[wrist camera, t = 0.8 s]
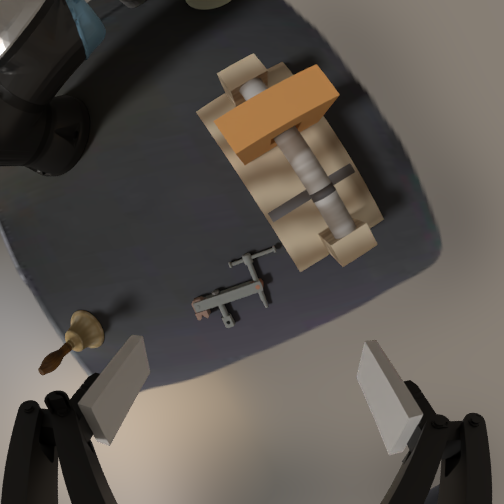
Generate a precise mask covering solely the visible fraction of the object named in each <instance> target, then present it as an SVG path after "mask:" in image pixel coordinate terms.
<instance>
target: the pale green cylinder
mask: <svg viewBox="0 0 504 504" xmlns="http://www.w3.org/2000/svg"><path fill="white" fill-rule="evenodd" d="M230 1H231V0H186V2H187V4H188V5H189V6H191V7H193V8H196V9H203V10H206V9H214V8H218V7H221V6H223V5H225V4H227V3H228V2H230Z"/></svg>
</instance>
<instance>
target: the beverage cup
mask: <svg viewBox="0 0 504 504" xmlns="http://www.w3.org/2000/svg"><path fill="white" fill-rule="evenodd" d="M120 1H121V2H122V3H123V4H125V5H126V6H127V7H129V8H135V7H137V6H140V5H141V4H143V3H144V2H145V1H146V0H120Z"/></svg>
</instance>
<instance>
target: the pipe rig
mask: <svg viewBox="0 0 504 504" xmlns="http://www.w3.org/2000/svg"><path fill="white" fill-rule="evenodd" d="M217 75H218V77H219V79H220V81H221V84H222V86H223V88H224V91H225V94H223V95H221V96H220V97H218V98H217V99H215V100H213V101H212V102H210V103H209V104H207V105H206V106H204V107H203V108H201V109H200V110H198V111H197V112H196V113H197V114H198V116H199V117H200V119H201V120H202V121H203V123H204V124H205V126H206V127H207V129H208V130H209V132H210V133H211V135H212V136H213V138H214V139H215V140H216V142H217V143H218V145H219V146H220V148H221V149H222V151H223V152H224V154H225V155H226V157H227V158H228V160H229V161H230V163H231V164H232V166H233V167H234V169H235V170H236V172H237V173H238V175H239V176H240V178H241V179H242V181H243V182H244V184H245V186H246V187H247V189H248V190H249V192H250V193H251V195H252V196H253V198H254V199H255V201H256V202H257V204H258V206H259V207H260V209H261V210H262V212H263V213H264V215H265V216H266V218H267V220H268V221H269V223H270V224H271V226H272V227H273V229H274V231H275V232H276V234H277V235H278V237H279V239H280V240H281V242H282V243H283V245H284V247H285V248H286V250H287V251H288V253H289V255H290V256H291V258H292V259H293V261H294V263H295V264H296V266H297V268H298V269H299V271H300V272H301V271H303V270H305V269H306V268H308V267H309V266H311V265H313V264H314V263H316V262H318V261H319V260H321V259H323V258H324V257H326V256H327V255H329V254H331V255H332V256H333V257H334V258H335V259H336V260H337V261H338V262H339V263H340V264H341V266H342V267H344V266H345V265H347V264H349V263H350V262H352V261H353V260H355V259H356V258H358V257H359V256H361V255H363V254H364V253H366V252H367V251H369V250H370V249H372V248H373V247H375V246H376V245H377V243H376V241H375V239H374V237H373V235H372V233H371V231H370V228H371V227H373V226H374V225H376V224H378V223H379V222H381V221H382V220H384V219H383V216H382V214H381V212H380V211H379V209H378V207H377V205H376V203H375V201H374V199H373V197H372V195H371V193H370V191H369V190H368V188H367V186H366V184H365V182H364V180H363V179H362V177H361V175H360V173H359V172H358V170H357V168H356V166H355V165H354V163H353V161H352V160H351V158H350V156H349V155H348V153H347V151H346V150H345V148H344V147H343V145H342V143H341V142H340V140H339V139H338V137H337V136H336V134H335V132H334V131H333V129H332V128H331V126H330V125H329V123H328V122H327V120H326V119H325V117H324V116H323V117H322V118H321V119H320V120H319V122H317V123H315V124H314V125H312V126H310V127H308V128H307V129H305V130H303V131H301V132H299V131H298V129H297V128H296V126H293V127H291V128H290V129H288V130H286V131H284V132H283V133H281V134H279V135H278V136H276V137H274V138H273V139H274V141H275V142H276V144H277V146H276V147H274V148H272V149H271V150H269V151H267V152H266V153H264V154H262V155H261V156H259V157H258V158H256V159H254V160H253V161H251V162H250V163H248V164H246V165H244V164H243V162H242V161H241V160H240V159H239V157H238V156H237V155H236V154H235V152H234V151H233V149H232V148H231V146H230V145H229V143H228V142H227V140H226V139H225V137H224V136H223V135H222V133H221V132H220V130H219V129H218V127H217V126H216V124H215V123H214V122H213V121H215V120H216V119H218V118H219V117H221V116H222V115H224V114H225V113H227V112H229V111H230V110H232V109H234V108H235V107H237V106H238V105H240V104H242V103H243V102H245V101H247V100H249V99H250V98H252V97H254V96H256V95H257V94H259V93H261V92H263V91H264V90H266V89H268V88H270V87H272V86H274V85H275V84H277V83H279V82H281V81H283V80H285V79H287V78H289V77H291V76H293V74H292V73H291V71H290V70H289V69H288V68H287V67H286V65H285V64H284V63H283V62H281V63H279V64H277V65H275V66H273V67H271V68H269V69H266V68H265V67H264V65H263V64H262V63H261V62H260V61H259V59H258V58H257V57H256V56H255V55H254V53H253V54H251V55H249V56H247V57H246V58H244V59H242V60H240V61H238V62H236V63H234V64H233V65H231V66H229V67H227V68H226V69H224V70H222V71H221V72H219V73H217Z"/></svg>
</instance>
